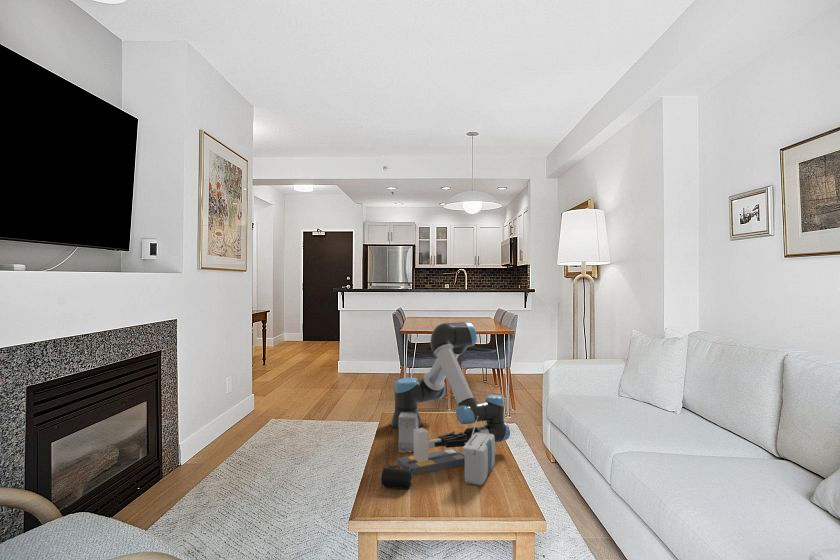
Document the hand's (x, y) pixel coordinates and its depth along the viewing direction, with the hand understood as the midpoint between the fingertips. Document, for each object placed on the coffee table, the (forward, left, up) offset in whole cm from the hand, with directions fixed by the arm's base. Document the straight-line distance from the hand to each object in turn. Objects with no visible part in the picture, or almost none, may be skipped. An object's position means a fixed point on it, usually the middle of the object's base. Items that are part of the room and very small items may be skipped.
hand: (426, 444), depth 192 cm
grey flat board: (0, +3, -8) cm, 9 cm away
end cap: (+13, -18, -9) cm, 24 cm away
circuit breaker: (-23, +3, -9) cm, 25 cm away
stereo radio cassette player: (+17, +14, -9) cm, 24 cm away
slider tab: (0, -2, -6) cm, 6 cm away
